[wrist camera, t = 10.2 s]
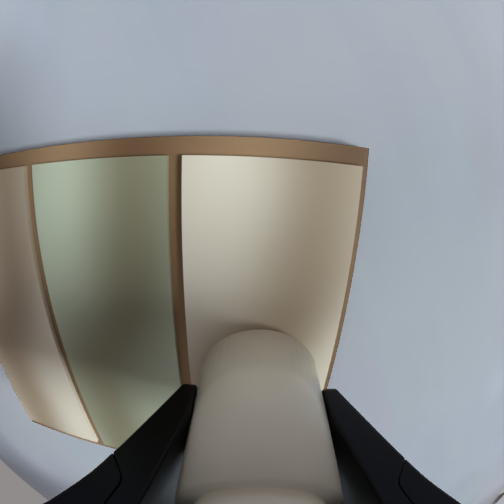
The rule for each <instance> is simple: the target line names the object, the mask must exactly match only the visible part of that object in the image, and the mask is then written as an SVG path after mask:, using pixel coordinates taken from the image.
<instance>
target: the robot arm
mask: <svg viewBox="0 0 504 504" xmlns="http://www.w3.org/2000/svg"><path fill="white" fill-rule="evenodd" d="M197 390H198V387H197V385H194V384H182V385H181V386H180V387H179V388H178V389H177V390H176V391H175V392H174V393H173V394H172V395H171V396H170V397H169V398H168V400H167V401H166V402H165V403H164V404H163V405H162V406H161V407H160V408H159V409H158V410H157V411H155V412H154V413H153V414H152V415H151V416H150V417H149V418H148V419H147V420H146V421H145V422H144V423H143V424H142V425H141V426H140V427H139V428H138V429H137V430H136V431H135V432H134V433H133V434H132V435H131V436H130V437H129V438H128V439H127V440H126V441H125V442H124V443H123V444H122V445H121V446H120V447H119V448H117V449H116V450H115V451H114V454H111V455H110V456H109V457H108V458H107V459H106V460H105V461H103V462H102V463H101V464H100V465H99V466H98V467H97V468H95V469H94V470H93V471H92V472H91V473H89V474H88V475H86V476H85V477H84V478H82V479H81V480H80V481H78V482H77V483H75V484H74V485H72V486H71V487H69V488H68V489H66V490H65V491H63V492H62V493H60V494H59V495H57V496H56V497H54V498H53V499H51V500H49V501H48V502H46V503H44V504H175V495H176V490H177V485H178V480H179V475H180V470H181V465H182V460H183V455H184V451H185V446H186V441H187V436H188V431H189V427H190V422H191V417H192V413H193V408H194V403H195V399H196V394H197ZM322 396H323V400H324V405H325V409H326V414H327V418H328V423H329V427H330V432H331V437H332V442H333V446H334V451H335V456H336V461H337V466H338V471H339V476H340V481H341V487H342V492H343V497H344V502H343V504H461V503H459V502H458V501H456V500H455V499H454V498H452V497H451V496H449V495H448V494H447V493H445V492H444V491H442V490H441V489H440V488H438V487H437V486H436V485H434V484H433V483H432V482H430V481H429V480H428V479H427V478H425V477H424V476H423V475H422V474H421V473H420V472H419V471H418V470H416V469H415V468H414V467H413V466H412V465H411V464H410V463H409V462H408V461H407V460H405V458H404V457H403V456H402V455H401V454H400V453H399V452H398V451H397V450H396V449H395V448H394V447H393V446H392V445H391V444H390V443H389V442H388V441H387V440H386V439H385V438H384V437H383V436H382V435H381V434H380V433H379V432H378V431H377V430H376V429H375V428H374V427H373V426H372V425H371V424H370V423H369V422H368V421H367V420H366V419H365V418H364V417H363V416H362V415H361V414H360V413H359V412H358V411H357V410H356V409H355V408H354V407H353V406H352V405H351V404H350V403H349V402H348V401H347V400H346V399H345V398H344V397H343V396H342V395H341V394H340V393H339V391H338V390H336V389H323V390H322Z"/></svg>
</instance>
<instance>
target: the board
mask: <svg viewBox="0 0 504 504" xmlns="http://www.w3.org/2000/svg"><path fill="white" fill-rule="evenodd" d="M368 154H369V148H363V147H356V146H348V145H340V144H332V143H323V142H313V141H303V140H291V139H277V138H260V137H236V136H165V137H142V138H125V139H112V140H100V141H90V142H81V143H72V144H65V145H57V146H50V147H43V148H37V149H31V150H25V151H20V152H14V153H9V154H4V155H0V362H1V364H2V366H3V368H4V370H5V373H6V375H7V377H8V379H9V381H10V383H11V385H12V387H13V389H14V391H15V393H16V395H17V396H18V398H19V400H20V402H21V404H22V406H23V407H24V409H25V411H26V413H27V414H28V416H29V418H30V419H31V420H32V421H33V422H35V423H38V424H40V425H43V426H45V427H48V428H51V429H53V430H56V431H59V432H62V433H64V434H67V435H70V436H73V437H76V438H79V439H83V440H86V441H89V442H92V443H96V444H99V445H103V446H107V447H111V448H114V449H117V448H119V447H120V446H121V445H122V444H123V443H124V442H125V441H126V440H127V439H128V438H129V437H130V436H131V435H132V434H133V433H134V432H135V431H136V430H137V429H138V428H139V427H140V426H141V425H142V424H143V423H144V422H145V421H146V420H147V419H148V418H149V417H150V416H151V415H152V414H153V413H154V412H155V411H157V410H158V409H159V408H160V407H161V406H162V405H163V404H164V403H165V402H166V401H167V400H168V398H169V397H170V396H171V395H172V394H173V393H174V392H175V391H176V390H177V389H178V388H179V387H180V386H181V385H182V384H194V385H197V387H198V385H199V381H200V376H201V372H202V367H203V363H204V360H205V357H206V355H207V354H208V352H209V350H210V349H211V348H212V347H213V346H214V345H215V344H216V343H218V342H219V341H220V340H222V339H224V338H225V337H228V336H230V335H232V334H235V333H238V332H242V331H247V330H272V331H277V332H281V333H284V334H287V335H289V336H292V337H294V338H295V339H297V340H299V341H300V342H301V343H303V344H304V345H305V346H306V347H307V348H308V349H309V351H310V352H311V354H312V356H313V358H314V361H315V365H316V369H317V374H318V378H319V382H320V387H321V391H322V390H323V389H327V386H328V383H329V379H330V375H331V372H332V368H333V364H334V360H335V356H336V352H337V348H338V344H339V339H340V335H341V331H342V326H343V322H344V317H345V312H346V307H347V303H348V298H349V292H350V287H351V282H352V276H353V271H354V265H355V259H356V253H357V247H358V240H359V234H360V227H361V219H362V212H363V204H364V195H365V186H366V177H367V166H368Z"/></svg>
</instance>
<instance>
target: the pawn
mask: <svg viewBox="0 0 504 504" xmlns="http://www.w3.org/2000/svg"><path fill="white" fill-rule="evenodd" d="M343 502H344V497H343V492H342V487H341V481H340V476H339V471H338V466H337V461H336V456H335V451H334V446H333V442H332V437H331V432H330V427H329V423H328V418H327V414H326V409H325V405H324V400H323V396H322V391H321V387H320V382H319V378H318V374H317V369H316V365H315V361H314V358H313V356H312V354H311V352H310V351H309V349H308V348H307V347H306V346H305V345H304V344H303V343H301V342H300V341H299V340H297V339H295V338H294V337H292V336H289V335H287V334H284V333H281V332H277V331H272V330H247V331H242V332H238V333H235V334H232V335H230V336H228V337H225V338H224V339H222V340H220V341H219V342H218V343H216V344H215V345H214V346H213V347H212V348H211V349H210V350H209V352H208V354H207V355H206V357H205V360H204V363H203V367H202V372H201V376H200V381H199V385H198V390H197V394H196V399H195V403H194V408H193V413H192V417H191V422H190V427H189V431H188V436H187V441H186V446H185V451H184V455H183V460H182V465H181V470H180V475H179V480H178V485H177V490H176V495H175V504H343Z"/></svg>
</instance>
